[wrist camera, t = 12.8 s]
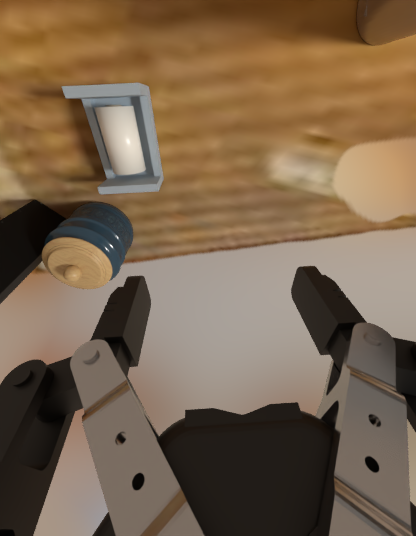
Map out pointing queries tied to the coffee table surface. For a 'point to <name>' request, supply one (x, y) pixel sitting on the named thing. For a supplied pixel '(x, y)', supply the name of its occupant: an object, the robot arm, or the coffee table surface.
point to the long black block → (23, 243)
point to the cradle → (142, 105)
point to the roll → (121, 138)
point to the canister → (88, 246)
